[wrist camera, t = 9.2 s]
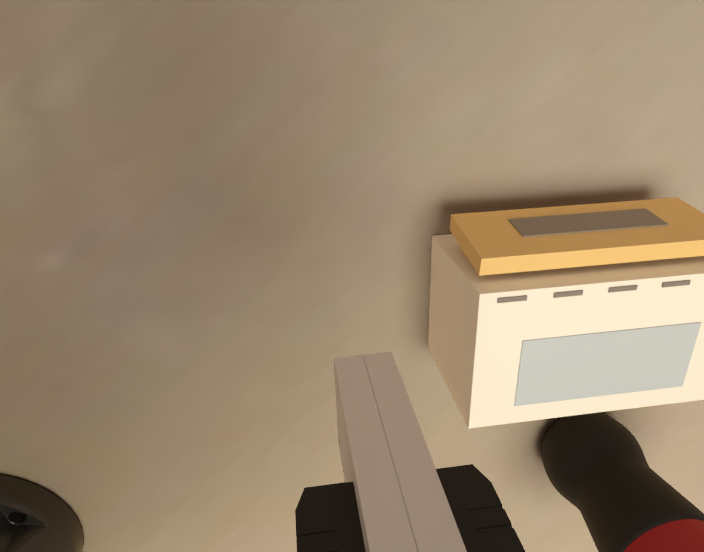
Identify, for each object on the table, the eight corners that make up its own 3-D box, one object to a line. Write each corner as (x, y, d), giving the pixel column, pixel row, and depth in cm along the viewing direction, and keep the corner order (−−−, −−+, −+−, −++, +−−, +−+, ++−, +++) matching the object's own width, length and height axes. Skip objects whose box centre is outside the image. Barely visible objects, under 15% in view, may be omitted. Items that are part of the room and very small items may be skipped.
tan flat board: (479, 275, 31) (481, 257, 30) (449, 229, 36) (451, 212, 35) (733, 253, 33) (741, 235, 32) (671, 212, 38) (677, 196, 37)
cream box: (427, 347, 43) (469, 429, 34) (432, 235, 38) (480, 295, 29) (626, 326, 45) (716, 399, 36) (651, 218, 40) (760, 268, 31)
